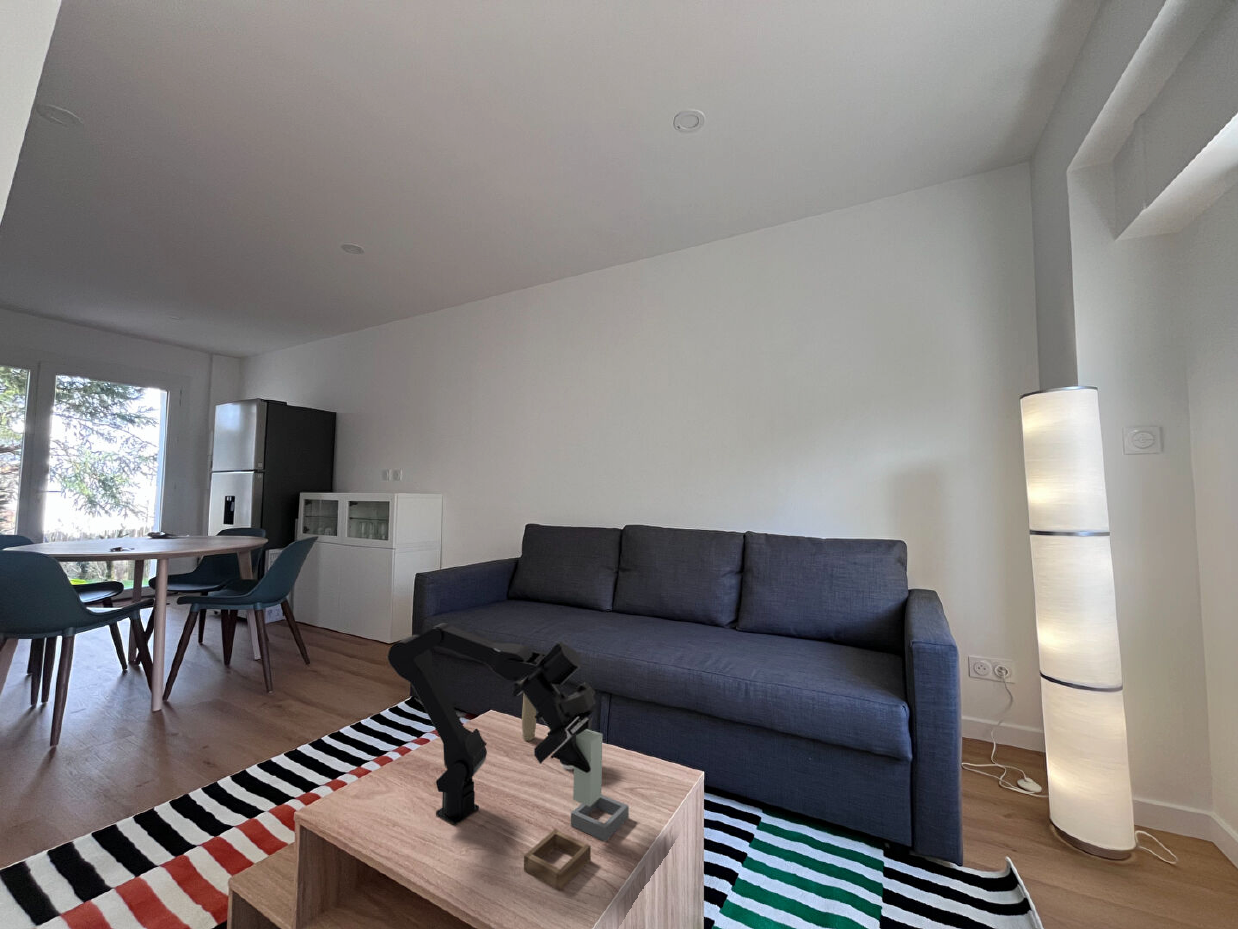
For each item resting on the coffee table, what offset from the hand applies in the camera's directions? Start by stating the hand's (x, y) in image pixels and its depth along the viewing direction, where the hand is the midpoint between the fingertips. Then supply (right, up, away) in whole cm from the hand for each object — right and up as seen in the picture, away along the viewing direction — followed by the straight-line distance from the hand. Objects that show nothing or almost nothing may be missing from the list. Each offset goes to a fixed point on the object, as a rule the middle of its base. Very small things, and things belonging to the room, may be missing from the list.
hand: (594, 765), depth 97 cm
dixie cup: (-7, -16, +25) cm, 30 cm away
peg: (-1, -7, 0) cm, 7 cm away
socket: (+1, -14, +3) cm, 14 cm away
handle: (-20, -17, +38) cm, 46 cm away
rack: (-6, -13, -9) cm, 17 cm away
